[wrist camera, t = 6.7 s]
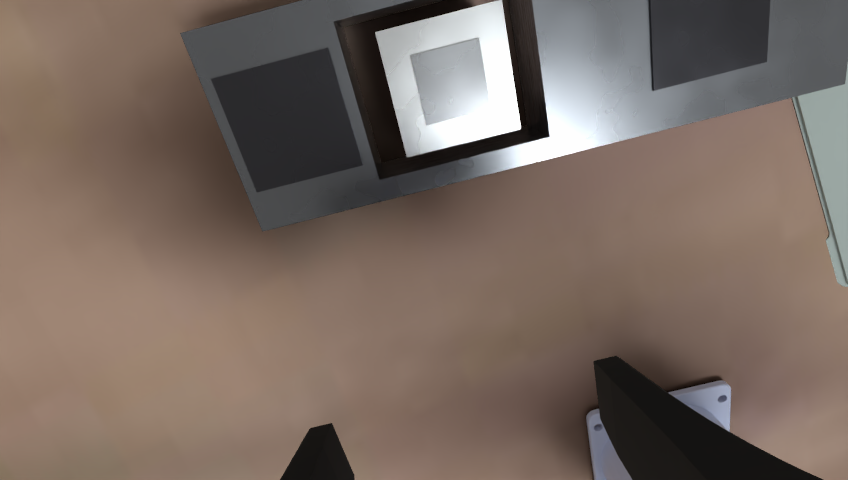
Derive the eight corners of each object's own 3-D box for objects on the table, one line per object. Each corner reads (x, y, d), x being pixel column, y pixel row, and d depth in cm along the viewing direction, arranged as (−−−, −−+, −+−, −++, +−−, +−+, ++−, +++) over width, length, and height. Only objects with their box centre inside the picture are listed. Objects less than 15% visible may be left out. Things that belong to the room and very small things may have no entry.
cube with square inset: (495, 115, 19) (521, 129, 15) (404, 138, 19) (406, 158, 15) (478, 12, 17) (502, -1, 14) (378, 37, 17) (374, 31, 14)
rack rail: (778, 80, 19) (847, 84, 16) (280, 206, 20) (261, 232, 17) (791, -119, 16) (877, -156, 13) (214, 36, 17) (178, 33, 14)
